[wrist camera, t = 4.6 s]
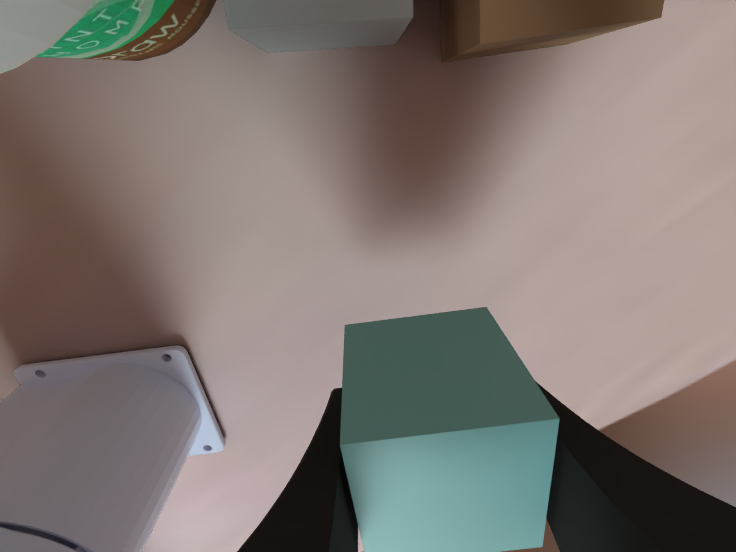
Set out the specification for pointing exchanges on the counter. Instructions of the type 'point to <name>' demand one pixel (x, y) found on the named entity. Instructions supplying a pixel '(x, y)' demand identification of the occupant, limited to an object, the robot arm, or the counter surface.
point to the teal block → (444, 436)
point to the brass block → (532, 23)
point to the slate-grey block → (318, 23)
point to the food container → (96, 28)
